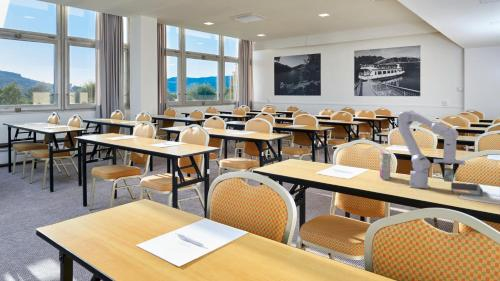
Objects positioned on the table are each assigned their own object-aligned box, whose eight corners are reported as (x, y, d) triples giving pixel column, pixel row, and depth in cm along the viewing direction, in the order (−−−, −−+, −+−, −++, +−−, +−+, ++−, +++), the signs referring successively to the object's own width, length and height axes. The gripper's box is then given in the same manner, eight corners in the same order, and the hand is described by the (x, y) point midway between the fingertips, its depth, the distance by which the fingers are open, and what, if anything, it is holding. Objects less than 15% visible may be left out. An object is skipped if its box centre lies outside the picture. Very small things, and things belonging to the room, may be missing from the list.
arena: (453, 194, 197) (453, 187, 196) (451, 188, 208) (451, 182, 207) (482, 196, 192) (482, 189, 191) (478, 190, 203) (478, 184, 202)
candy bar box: (379, 175, 239) (379, 150, 237) (387, 176, 238) (388, 150, 236) (381, 180, 229) (382, 153, 226) (390, 180, 228) (391, 153, 225)
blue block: (444, 181, 198) (444, 170, 198) (443, 178, 205) (443, 167, 204) (452, 182, 197) (453, 170, 196) (451, 179, 203) (452, 168, 202)
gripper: (434, 152, 198) (433, 177, 200) (466, 154, 192) (464, 179, 194) (434, 150, 204) (432, 174, 206) (464, 151, 199) (462, 176, 201)
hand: (448, 177), depth 201 cm, fingers closed on blue block, 4 cm apart
